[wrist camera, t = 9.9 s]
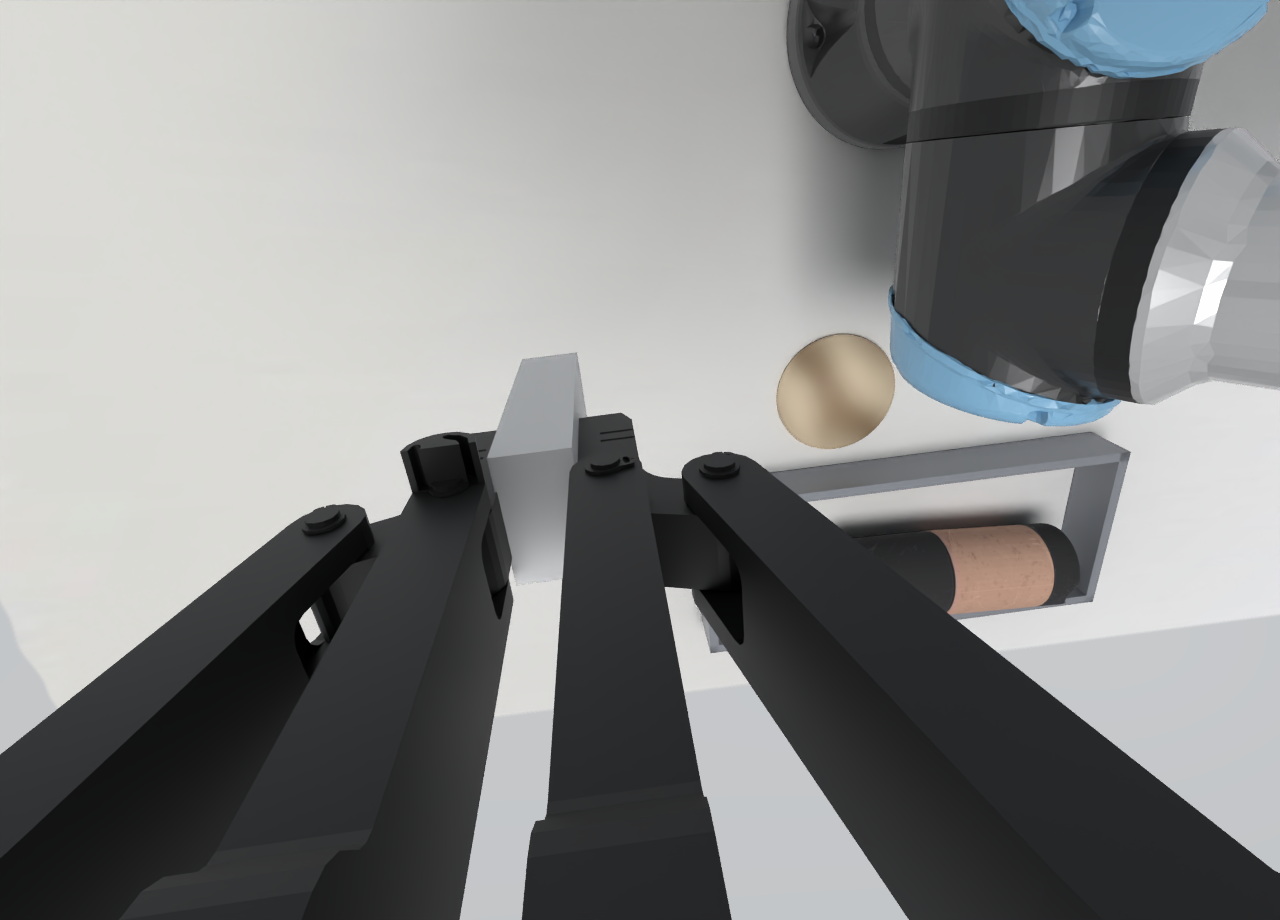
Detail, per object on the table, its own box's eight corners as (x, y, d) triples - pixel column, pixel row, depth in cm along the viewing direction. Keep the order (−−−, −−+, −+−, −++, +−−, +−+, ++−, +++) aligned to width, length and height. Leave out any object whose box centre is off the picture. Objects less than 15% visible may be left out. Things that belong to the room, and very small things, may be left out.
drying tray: (702, 621, 62) (710, 653, 58) (692, 482, 55) (700, 506, 51) (1059, 573, 63) (1092, 601, 59) (1091, 432, 56) (1130, 451, 52)
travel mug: (820, 535, 60) (1017, 521, 62) (828, 615, 60) (1026, 599, 61) (852, 538, 53) (1076, 522, 54) (861, 630, 52) (1087, 611, 53)
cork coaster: (829, 310, 50) (832, 311, 49) (916, 375, 53) (919, 377, 52) (753, 409, 53) (754, 411, 52) (838, 466, 56) (841, 468, 55)
